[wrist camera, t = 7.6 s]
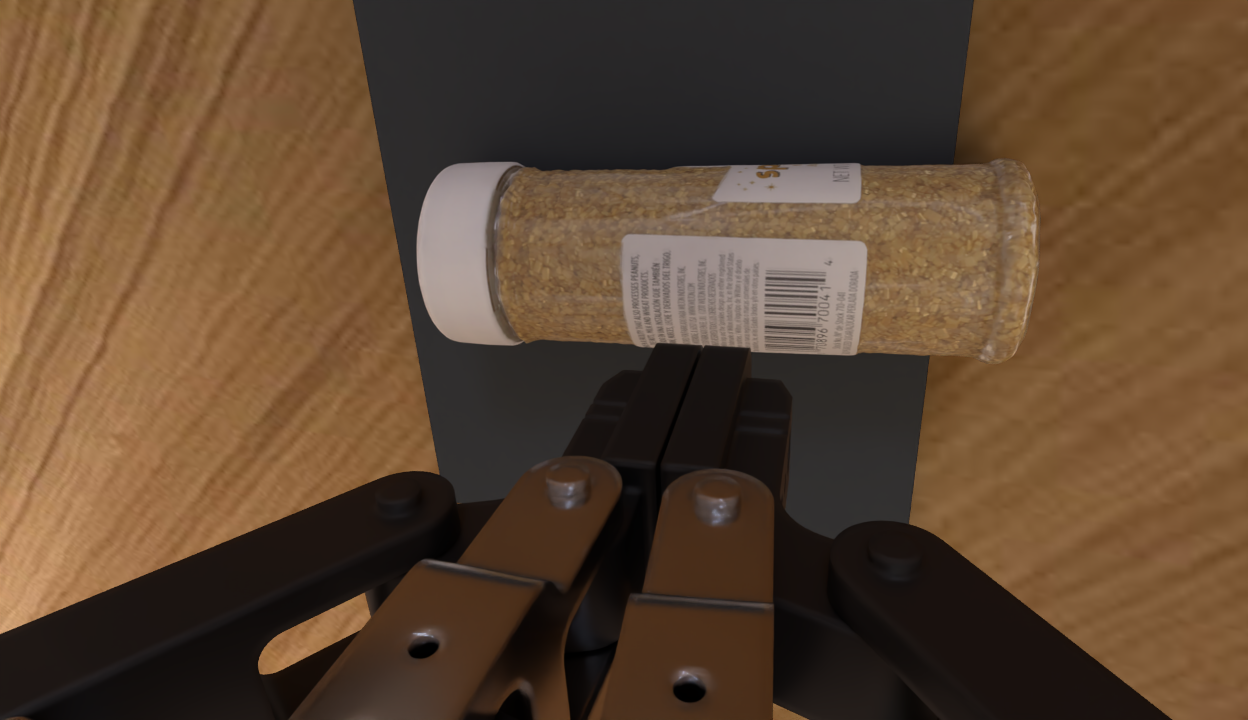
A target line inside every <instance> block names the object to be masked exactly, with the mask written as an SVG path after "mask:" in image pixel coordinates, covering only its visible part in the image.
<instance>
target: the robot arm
mask: <svg viewBox="0 0 1248 720" xmlns="http://www.w3.org/2000/svg"><path fill="white" fill-rule="evenodd" d="M751 368H752V357H751V348H748V347H730V346H713V345H705V346H704V348H703V346H702V345H693V344H675V343H656V345H655V347H654V349H653V351H652V353H651V355H650V357H649V359H648V361H647V363H646V365H645V367H644V369H643V371H637V370H622V371H621V372H619V373H618V374H616V375H615V376H613V377H612V378H610V379H609V380H607V381H606V382H604V383H603V384H602V386H601V387H600V389H599V391H598V393H597V395H596V396H595V398H594V400H593V404H591V405H590V407H589V409H588V411H587V412H586V414H585V418H583V419H582V421H581V423H580V425H579V427H578V428H577V430H576V432H575V434H574V435H573V437H572V439H571V441H570V443H569V444H568V446H567V448H566V450H565V451H564V453H563V455H562V457H558V458H553V459H550V460H547V461H544V462H541V463H539V464H537V465H535V466H534V467H532V468H530V469H529V470H528V471H526V472H525V473H524V474H523V475H522V476H521V477H520V479H519V480H518V481H517V483H516V484H515V485H514V487H513V488H512V489H511V491H510V492H509V493H508V495H507V496H506V497H505V498H503V499H497V500H489V501H479V502H470V503H460V504H457V502H456V496H455V490H454V488H453V485H452V484H451V483H450V482H449V480H447V479H446V478H444V477H442V476H440V475H438V474H434V473H431V472H424V471H410V472H402V473H396V474H392V475H388V476H385V477H382V478H380V479H377V480H375V481H372V482H370V483H367V484H365V485H362V486H360V487H358V488H355V489H353V490H350V491H348V492H345V493H343V494H341V495H338V496H336V497H333V498H331V499H328V500H326V501H324V502H321V503H319V504H316V505H314V506H311V507H309V508H307V509H304V510H302V511H299V512H297V513H294V514H292V515H289V516H287V517H285V518H282V519H280V520H277V521H275V522H272V523H270V524H268V525H265V526H263V527H260V528H258V529H255V530H253V531H251V532H248V533H246V534H243V535H241V536H238V537H236V538H234V539H231V540H229V541H226V542H224V543H221V544H219V545H216V546H214V547H212V548H209V549H207V550H204V551H202V552H199V553H197V554H195V555H192V556H190V557H187V558H185V559H182V560H180V561H178V562H175V563H173V564H170V565H168V566H165V567H163V568H160V569H158V570H156V571H153V572H151V573H148V574H146V575H143V576H141V577H139V578H136V579H134V580H131V581H129V582H126V583H124V584H122V585H119V586H117V587H114V588H112V589H109V590H107V591H105V592H102V593H100V594H97V595H95V596H92V597H90V598H87V599H85V600H83V601H80V602H78V603H75V604H73V605H70V606H68V607H66V608H63V609H61V610H58V611H56V612H53V613H51V614H49V615H46V616H44V617H41V618H39V619H36V620H34V621H31V622H29V623H27V624H24V625H22V626H19V627H17V628H14V629H12V630H10V631H7V632H5V633H2V634H0V720H773V703H774V704H776V705H779V706H781V707H783V708H785V709H787V710H789V711H792V712H794V713H796V714H798V715H800V716H803V717H805V718H807V719H809V720H1172V719H1171V718H1169V717H1168V716H1167V715H1166V714H1164V713H1163V712H1162V711H1161V710H1159V709H1158V708H1157V707H1155V706H1154V705H1153V704H1152V703H1150V702H1149V701H1148V700H1146V699H1145V698H1144V697H1143V696H1141V695H1140V694H1139V693H1137V692H1136V691H1135V690H1134V689H1132V688H1131V687H1130V686H1129V685H1127V684H1126V683H1125V682H1123V681H1122V680H1121V679H1120V678H1118V677H1117V676H1116V675H1114V674H1113V673H1112V672H1111V671H1109V670H1108V669H1107V668H1105V667H1104V666H1103V665H1102V664H1100V663H1099V662H1098V661H1097V660H1095V659H1094V658H1093V657H1091V656H1090V655H1089V654H1088V653H1086V652H1085V651H1084V650H1082V649H1081V648H1080V647H1079V646H1077V645H1076V644H1075V643H1073V642H1072V641H1071V640H1070V639H1068V638H1067V637H1066V636H1065V635H1063V634H1062V633H1061V632H1059V631H1058V630H1057V629H1056V628H1054V627H1053V626H1052V625H1050V624H1049V623H1048V622H1047V621H1045V620H1044V619H1043V618H1041V617H1040V616H1039V615H1038V614H1036V613H1035V612H1034V611H1033V610H1031V609H1030V608H1029V607H1027V606H1026V605H1025V604H1024V603H1022V602H1021V601H1020V600H1018V599H1017V598H1016V597H1015V596H1013V595H1012V594H1011V593H1010V592H1008V591H1007V590H1006V589H1004V588H1003V587H1002V586H1001V585H999V584H998V583H997V582H995V581H994V580H993V579H992V578H990V577H989V576H988V575H986V574H985V573H984V572H983V571H981V570H980V569H979V568H978V567H976V566H975V565H974V564H972V563H971V562H970V561H969V560H967V559H966V558H965V557H963V556H962V555H961V554H960V553H958V552H957V551H956V550H954V549H953V548H952V547H951V546H949V545H948V544H947V543H946V542H944V541H943V540H941V539H940V538H939V537H937V536H936V535H934V534H932V533H930V532H928V531H926V530H924V529H921V528H919V527H916V526H913V525H910V524H906V523H901V522H895V521H868V522H862V523H859V524H855V525H853V526H850V527H848V528H846V529H845V530H843V531H842V532H840V533H839V534H838V535H837V536H836V537H835V539H832V538H829V537H826V536H823V535H820V534H818V533H815V532H813V531H811V530H809V529H807V528H805V527H803V526H802V525H800V524H799V523H797V522H796V521H795V520H794V519H793V518H792V517H790V516H789V514H788V513H787V512H786V511H785V508H786V499H787V491H788V483H789V468H790V445H791V421H792V398H793V397H792V395H791V394H790V392H789V391H788V389H787V388H786V386H785V385H784V383H783V382H782V380H776V379H761V378H751ZM364 592H365V595H366V599H367V603H368V607H369V611H370V615H371V618H370V620H369V621H368V622H367V623H366V625H365V626H364V627H363V628H362V629H361V630H360V631H358V632H356V633H354V634H352V635H350V636H348V637H346V638H344V639H342V640H340V641H338V642H336V643H334V644H332V645H330V646H328V647H326V648H324V649H322V650H320V651H318V652H316V653H314V654H312V655H310V656H308V657H306V658H305V659H303V660H301V661H299V662H297V663H295V664H293V665H291V666H289V667H287V668H285V669H283V670H281V671H278V672H276V673H273V674H267V675H262V674H259V670H258V660H259V657H260V654H261V652H262V651H263V649H264V647H265V646H266V645H267V644H268V643H269V642H270V641H271V640H272V639H273V638H274V637H276V636H277V635H278V634H280V633H282V632H284V631H286V630H288V629H290V628H292V627H294V626H296V625H298V624H300V623H302V622H304V621H306V620H309V619H311V618H313V617H315V616H317V615H319V614H321V613H323V612H325V611H327V610H329V609H331V608H333V607H335V606H337V605H340V604H342V603H344V602H346V601H348V600H350V599H352V598H354V597H356V596H358V595H360V594H362V593H364Z"/></svg>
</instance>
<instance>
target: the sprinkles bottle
mask: <svg viewBox="0 0 1248 720" xmlns="http://www.w3.org/2000/svg"><path fill="white" fill-rule="evenodd" d="M1040 219H1041V217H1040V204H1039V200H1038V195H1037V192H1036V189H1035V186H1034V184H1033V181H1032V178H1031V176H1030V173H1029V172H1028V171H1027V169H1026V167H1025V165H1024V164H1023V163H1022V162H1020V161H1017V160H1014V159H1008V158H1000V159H995V160H993V161H991V162H989V163H984V164H976V163H975V164H967V165H912V166H863V165H861V164H859V163H836V164H791V165H728V166H681V167H673V168H669V169H666V170H645V169H642V170H620V169H616V170H607V169H606V170H585V171H582V170H570V171H563V170H552V171H541V170H538V169H537V168H535V167H532V168H529V167H524V166H523V165H521V164H519V163H517V162H480V163H459V164H454V165H451V166H449V167H447V168H445V169H444V170H442V171H441V172H440V173H439V174H438V175H437V177H436V178H435V179H434V181H433V182H432V184H431V186H430V187H429V189H428V191H427V194H426V197H425V199H424V202H423V206H422V210H421V214H420V219H419V224H418V233H417V270H418V277H419V284H420V288H421V292H422V296H423V300H424V303H425V306H426V309H427V311H428V313H429V316H430V317H431V319H432V321H433V323H434V324H435V325H436V327H437V328H438V329H439V331H440V332H441V333H442V334H444V335H445V336H446V337H447V338H449V339H451V340H454V341H457V342H464V343H475V344H486V345H517V344H520V343H522V342H524V341H525V343H530V342H532V341H535V340H542V339H545V340H556V341H581V342H589V341H591V342H596V343H598V342H603V343H620V344H634V345H636V346H639V347H651V348H654V347H655V345H656V343H675V344H693V345H702V346H703V348H704V346H705V345H713V346H730V347H748V348H751V352H767V353H794V354H822V355H856V354H858V353H862V352H865V353H886V354H909V355H922V356H925V355H941V356H965V357H973V358H975V359H977V360H979V361H981V362H984V363H987V364H1000V363H1002V362H1005V361H1007V360H1008V359H1010V358H1011V357H1012V356H1013V355H1014V354H1015V352H1016V351H1017V349H1018V347H1019V345H1020V344H1021V342H1022V340H1023V339H1024V337H1025V335H1026V332H1027V328H1028V324H1029V319H1030V314H1031V309H1032V304H1033V300H1034V295H1035V290H1036V285H1037V278H1038V271H1039V257H1040Z"/></svg>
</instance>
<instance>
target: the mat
mask: <svg viewBox="0 0 1248 720" xmlns="http://www.w3.org/2000/svg"><path fill="white" fill-rule="evenodd" d="M973 2H974V0H353V4H354V9H355V15H356V20H357V25H358V31H359V36H360V42H361V47H362V53H363V58H364V64H365V69H366V75H367V80H368V85H369V91H370V96H371V102H372V107H373V113H374V118H375V124H376V129H377V135H378V140H379V145H380V151H381V156H382V162H383V167H384V173H385V178H386V184H387V189H388V195H389V200H390V205H391V211H392V216H393V222H394V227H395V233H396V238H397V244H398V249H399V255H400V260H401V265H402V271H403V276H404V282H405V287H406V293H407V298H408V304H409V309H410V315H411V320H412V325H413V331H414V336H415V342H416V347H417V353H418V358H419V364H420V369H421V375H422V380H423V385H424V391H425V396H426V402H427V407H428V413H429V418H430V424H431V429H432V435H433V440H434V445H435V451H436V456H437V462H438V467H439V473H440V476H442V477H444V478H446V479H447V480H449V482H450V483H451V484H452V485H453V488H454V490H455V496H456V502H457V503H470V502H479V501H489V500H497V499H503V498H505V497H506V496H507V495H508V493H509V492H510V491H511V489H512V488H513V487H514V485H515V484H516V483H517V481H518V480H519V479H520V477H521V476H522V475H523V474H524V473H525V472H526V471H528V470H529V469H530V468H532V467H534V466H535V465H537V464H539V463H541V462H544V461H547V460H550V459H553V458H558V457H562V455H563V453H564V451H565V450H566V448H567V446H568V444H569V443H570V441H571V439H572V437H573V435H574V434H575V432H576V430H577V428H578V427H579V425H580V423H581V421H582V419H583V418H585V414H586V412H587V411H588V409H589V407H590V405H591V404H593V400H594V398H595V396H596V395H597V393H598V391H599V389H600V387H601V386H602V384H603V383H604V382H606V381H607V380H609V379H610V378H612V377H613V376H615V375H616V374H618V373H619V372H621V371H622V370H637V371H643V369H644V367H645V365H646V363H647V361H648V359H649V357H650V355H651V353H652V351H653V349H654V348H651V347H639V346H636V345H634V344H620V343H603V342H598V343H596V342H591V341H589V342H581V341H556V340H545V339H542V340H535V341H532V342H530V343H525V341H524V342H522V343H520V344H517V345H486V344H475V343H464V342H457V341H454V340H451V339H449V338H447V337H446V336H445V335H444V334H442V333H441V332H440V331H439V329H438V328H437V327H436V325H435V324H434V323H433V321H432V319H431V317H430V316H429V313H428V311H427V309H426V306H425V303H424V300H423V296H422V292H421V288H420V284H419V277H418V270H417V233H418V224H419V219H420V214H421V210H422V206H423V202H424V199H425V197H426V194H427V191H428V189H429V187H430V186H431V184H432V182H433V181H434V179H435V178H436V177H437V175H438V174H439V173H440V172H441V171H442V170H444V169H445V168H447V167H449V166H451V165H454V164H459V163H480V162H517V163H519V164H521V165H523V166H524V167H529V168H532V167H535V168H537V169H538V170H541V171H552V170H563V171H570V170H582V171H585V170H606V169H607V170H616V169H620V170H642V169H645V170H666V169H669V168H673V167H681V166H728V165H791V164H836V163H859V164H861V165H863V166H912V165H953V163H954V155H955V147H956V139H957V131H958V123H959V115H960V107H961V99H962V91H963V82H964V74H965V66H966V58H967V50H968V42H969V34H970V26H971V18H972V10H973ZM929 356H930V355H925V356H922V355H909V354H886V353H865V352H862V353H858V354H856V355H822V354H794V353H767V352H751V357H752V368H751V378H761V379H776V380H782V382H783V383H784V385H785V386H786V388H787V389H788V391H789V392H790V394H791V395H792V397H793V398H792V421H791V445H790V468H789V483H788V491H787V499H786V508H785V511H786V512H787V513H788V514H789V516H790V517H792V518H793V519H794V520H795V521H796V522H797V523H799V524H800V525H802V526H803V527H805V528H807V529H809V530H811V531H813V532H815V533H818V534H820V535H823V536H826V537H829V538H832V539H835V537H836V536H837V535H838V534H839V533H840V532H842V531H843V530H845V529H846V528H848V527H850V526H853V525H855V524H859V523H862V522H868V521H895V522H901V523H906V524H909V517H910V509H911V501H912V493H913V485H914V477H915V469H916V461H917V453H918V445H919V437H920V429H921V421H922V413H923V405H924V397H925V389H926V381H927V372H928V364H929Z"/></svg>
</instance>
